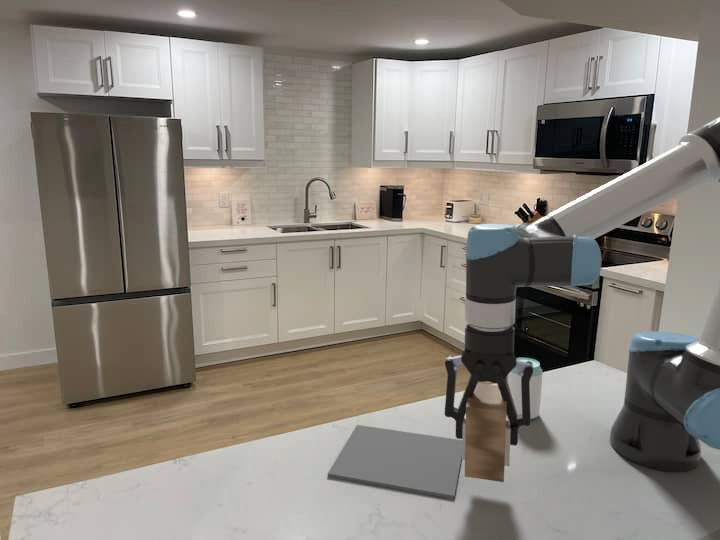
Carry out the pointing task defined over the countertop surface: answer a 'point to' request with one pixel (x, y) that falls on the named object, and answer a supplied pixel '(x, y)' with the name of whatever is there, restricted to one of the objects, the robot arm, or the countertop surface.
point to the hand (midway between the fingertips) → (485, 458)
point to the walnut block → (485, 434)
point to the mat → (400, 461)
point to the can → (535, 388)
